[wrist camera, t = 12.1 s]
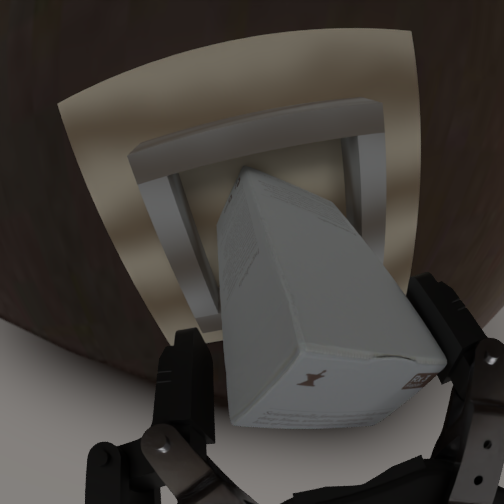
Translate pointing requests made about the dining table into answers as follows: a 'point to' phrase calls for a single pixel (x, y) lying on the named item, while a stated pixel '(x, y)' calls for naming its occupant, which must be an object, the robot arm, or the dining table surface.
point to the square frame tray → (249, 152)
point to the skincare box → (311, 315)
